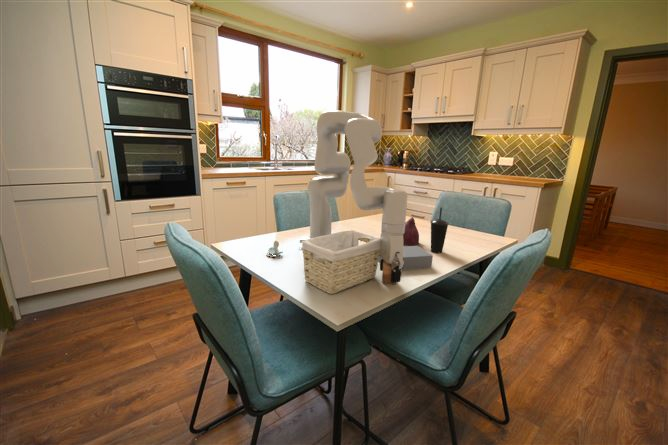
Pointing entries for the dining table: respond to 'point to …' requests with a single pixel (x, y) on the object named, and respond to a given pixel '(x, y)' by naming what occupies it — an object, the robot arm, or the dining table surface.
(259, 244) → the dining table surface
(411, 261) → the stand
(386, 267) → the cylinder
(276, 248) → the pacifier
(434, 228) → the drinking cup
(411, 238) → the vegetable
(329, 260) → the storage basket
